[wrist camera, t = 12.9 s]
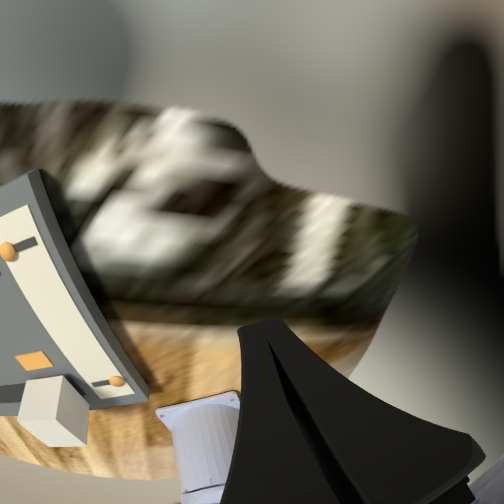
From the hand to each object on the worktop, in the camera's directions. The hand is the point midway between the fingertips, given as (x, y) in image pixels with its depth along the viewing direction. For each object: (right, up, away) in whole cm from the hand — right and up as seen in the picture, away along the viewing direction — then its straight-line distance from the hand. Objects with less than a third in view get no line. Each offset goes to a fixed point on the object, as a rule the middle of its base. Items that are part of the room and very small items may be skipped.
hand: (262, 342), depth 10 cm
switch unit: (-21, -3, +7) cm, 22 cm away
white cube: (-16, -8, +9) cm, 20 cm away
